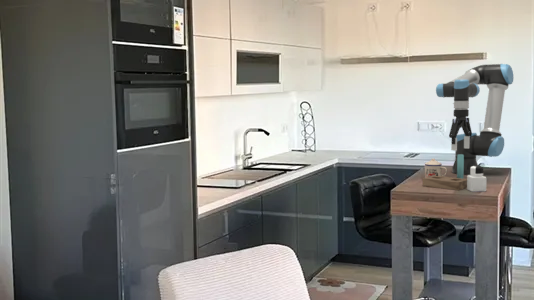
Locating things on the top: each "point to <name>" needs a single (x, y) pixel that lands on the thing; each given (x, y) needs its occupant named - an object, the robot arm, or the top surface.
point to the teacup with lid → (433, 168)
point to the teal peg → (460, 165)
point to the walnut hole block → (445, 182)
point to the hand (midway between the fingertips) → (460, 149)
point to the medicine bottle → (476, 179)
